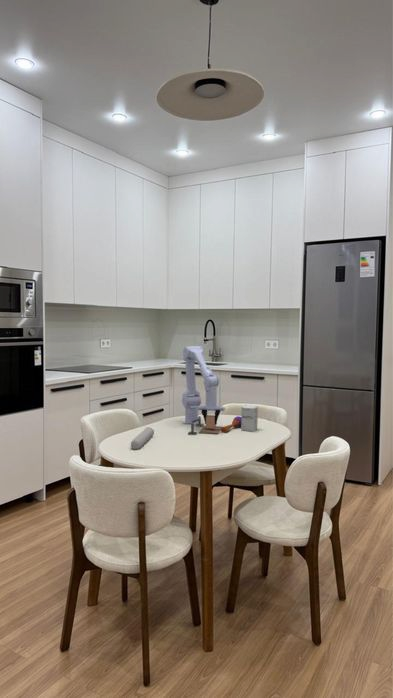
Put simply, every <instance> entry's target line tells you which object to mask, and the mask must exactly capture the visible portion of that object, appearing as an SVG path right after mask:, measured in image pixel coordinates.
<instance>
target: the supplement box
mask: <svg viewBox="0 0 393 698" xmlns="http://www.w3.org/2000/svg"><path fill="white" fill-rule="evenodd" d="M258 413H259V406H257V405H248V404H247V405H243V406H241V416H240V417H241V427H240V430H241V431H246V432H255V431H256V430H258V419H259V418H258V417H259V416H258V415H259V414H258Z"/></svg>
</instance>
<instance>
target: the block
mask: <svg viewBox="0 0 393 698" xmlns="http://www.w3.org/2000/svg"><path fill="white" fill-rule="evenodd" d="M205 426H206V428H215V427H216V426H217V424H216V425H215V414H213V415H211V414H207V416H206V424H205Z"/></svg>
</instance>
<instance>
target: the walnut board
mask: <svg viewBox="0 0 393 698" xmlns="http://www.w3.org/2000/svg"><path fill="white" fill-rule="evenodd" d="M222 427H223V426H221V425H220V426H219V425H218V426H217V425H216V427H215V428H206V425H203V427H201V428H200V430H199V431H198V434H202V435H203V434H205V435H219V433H220V432H221V428H222Z"/></svg>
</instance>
